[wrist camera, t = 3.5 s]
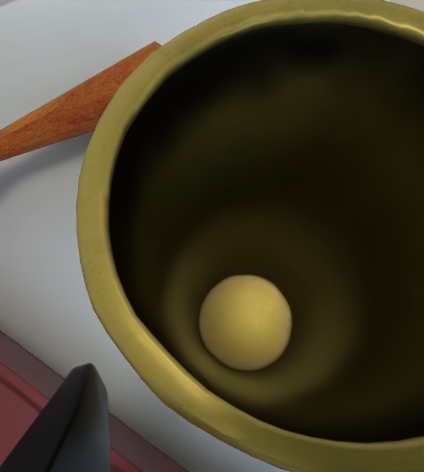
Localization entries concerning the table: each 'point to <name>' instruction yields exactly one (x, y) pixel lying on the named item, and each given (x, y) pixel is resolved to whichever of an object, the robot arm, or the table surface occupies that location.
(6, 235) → the table surface
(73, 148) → the table surface
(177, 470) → the book
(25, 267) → the table surface
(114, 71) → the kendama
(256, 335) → the vase
